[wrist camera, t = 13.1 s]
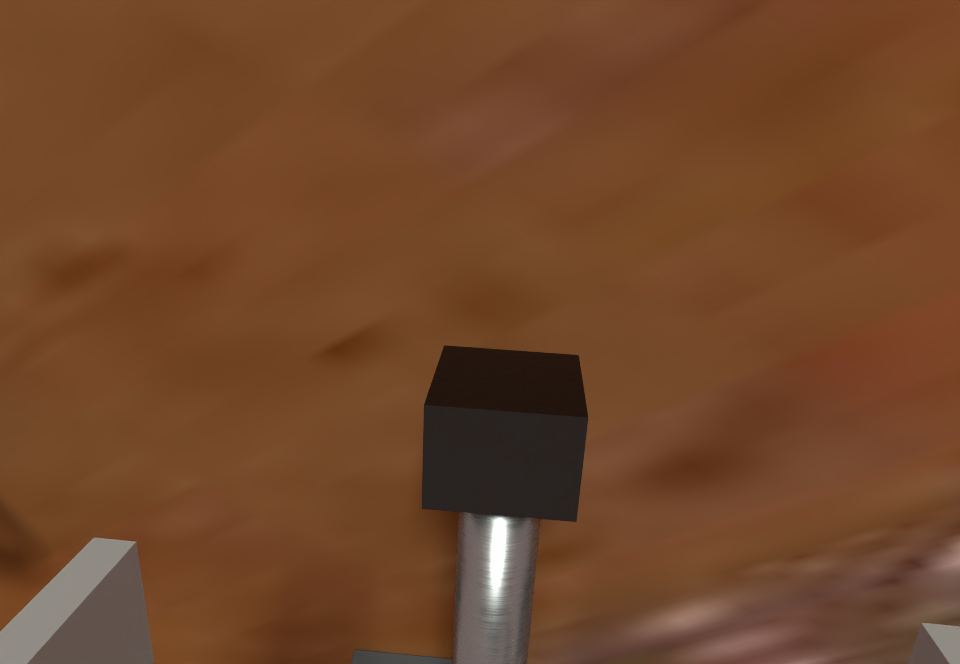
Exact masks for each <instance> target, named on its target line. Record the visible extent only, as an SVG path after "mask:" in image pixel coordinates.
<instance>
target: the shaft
mask: <svg viewBox="0 0 960 664" xmlns="http://www.w3.org/2000/svg"><path fill="white" fill-rule="evenodd" d="M587 424H588V413H587V406H586V400H585V393H584V387H583V380H582V374H581V367H580V360H579V355H569V354H555V353H542V352H528V351H514V350H500V349H486V348H472V347H458V346H444V348H443V351H442V354H441V357H440V360H439V362H438V365H437V368H436V371H435V374H434V377H433V380H432V383H431V386H430V389H429V392H428V395H427V398H426V401H425V404H424V433H423V480H422V509H431V510H443V511H455V512H458V534H457V558H456V581H455V604H454V627H453V651H452V664H527V659H528V648H529V637H530V626H531V616H532V605H533V594H534V583H535V572H536V561H537V551H538V540H539V529H540V519H549V520H561V521H573V522H576V520H577V511H578V503H579V494H580V485H581V476H582V468H583V459H584V450H585V441H586V432H587Z"/></svg>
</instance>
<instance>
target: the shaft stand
mask: <svg viewBox="0 0 960 664" xmlns="http://www.w3.org/2000/svg"><path fill="white" fill-rule="evenodd" d="M351 664H452V659H445V658H435V657H424V656H414V655H404V654H393V653H383V652H372V651H362V650H355V652H354V655H353V658H352V661H351Z"/></svg>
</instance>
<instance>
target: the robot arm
mask: <svg viewBox="0 0 960 664" xmlns="http://www.w3.org/2000/svg"><path fill="white" fill-rule="evenodd" d="M0 664H154V660H153V653H152V646H151V639H150V633H149V626H148V619H147V612H146V605H145V599H144V592H143V585H142V578H141V571H140V565H139V558H138V551H137V544H136V542H132V541H122V540H113V539H103V538H93V539H92V540H91V541H90V542H89V543H88V544H87V545H86V546H85V547H84V548H83V549H82V550H81V551H80V552H79V553H78V554H77V555H76V556H75V557H74V558H73V559H72V560H71V561H70V562H69V563H68V564H67V565H66V566H65V567H64V568H63V569H62V570H61V571H60V572H59V573H58V574H57V575H56V576H55V577H54V578H53V579H52V580H51V581H50V582H49V583H48V584H47V585H46V586H45V587H44V588H43V589H42V590H41V591H40V592H39V593H38V594H37V595H36V596H35V597H34V598H33V599H32V600H31V601H30V602H29V603H28V604H27V605H26V606H25V607H24V608H23V609H22V610H21V611H20V612H19V613H18V614H17V615H16V616H15V617H14V618H13V619H12V620H11V621H10V622H9V623H8V624H7V625H6V626H5V627H4V628H3V629H2V630H1V631H0ZM908 664H960V627H958V626H948V625H939V624H929V623H921V625H920V628H919V631H918V634H917V637H916V640H915V643H914V646H913V649H912V652H911V655H910V658H909V661H908Z"/></svg>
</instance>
